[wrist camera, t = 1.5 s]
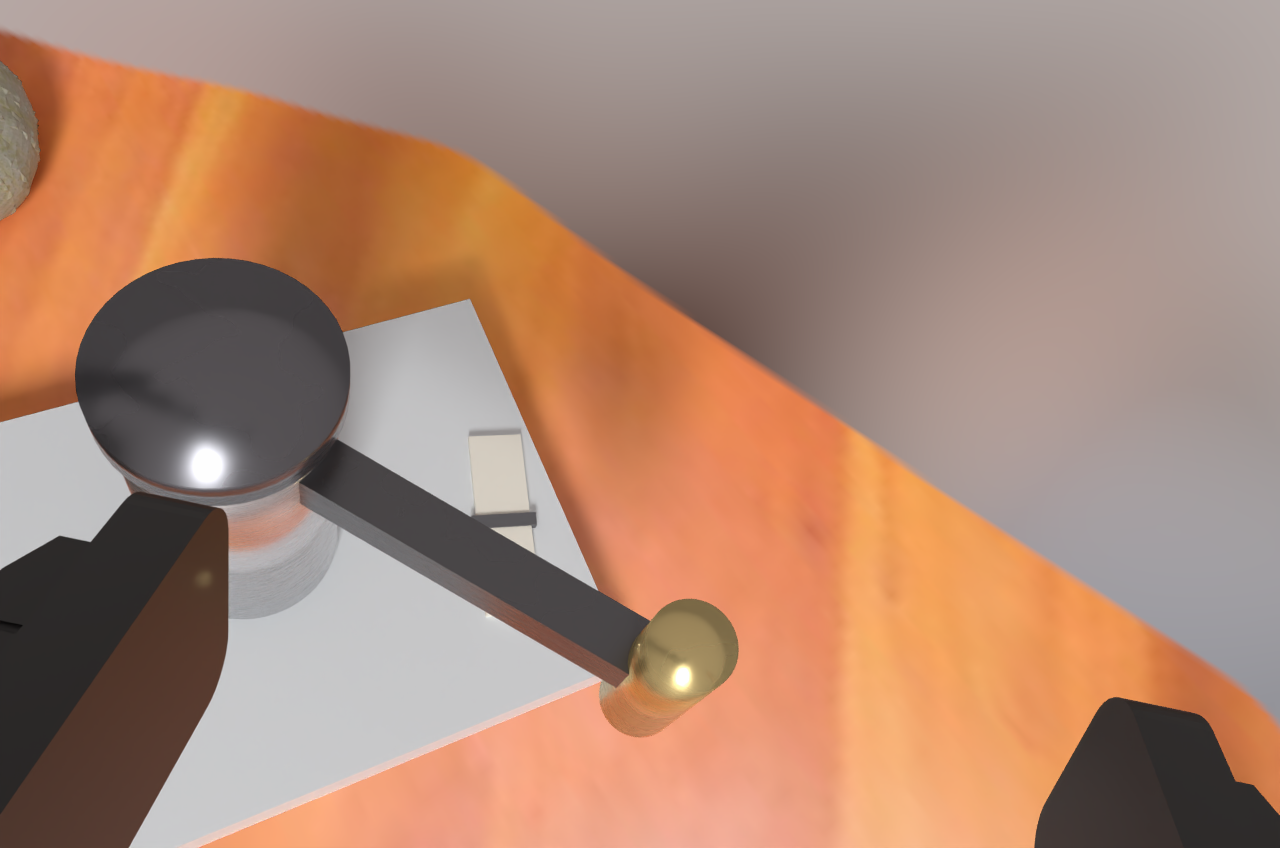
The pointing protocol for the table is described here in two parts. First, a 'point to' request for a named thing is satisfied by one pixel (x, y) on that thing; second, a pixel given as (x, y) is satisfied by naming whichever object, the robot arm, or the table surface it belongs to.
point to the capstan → (340, 479)
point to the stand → (342, 589)
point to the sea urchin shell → (16, 143)
